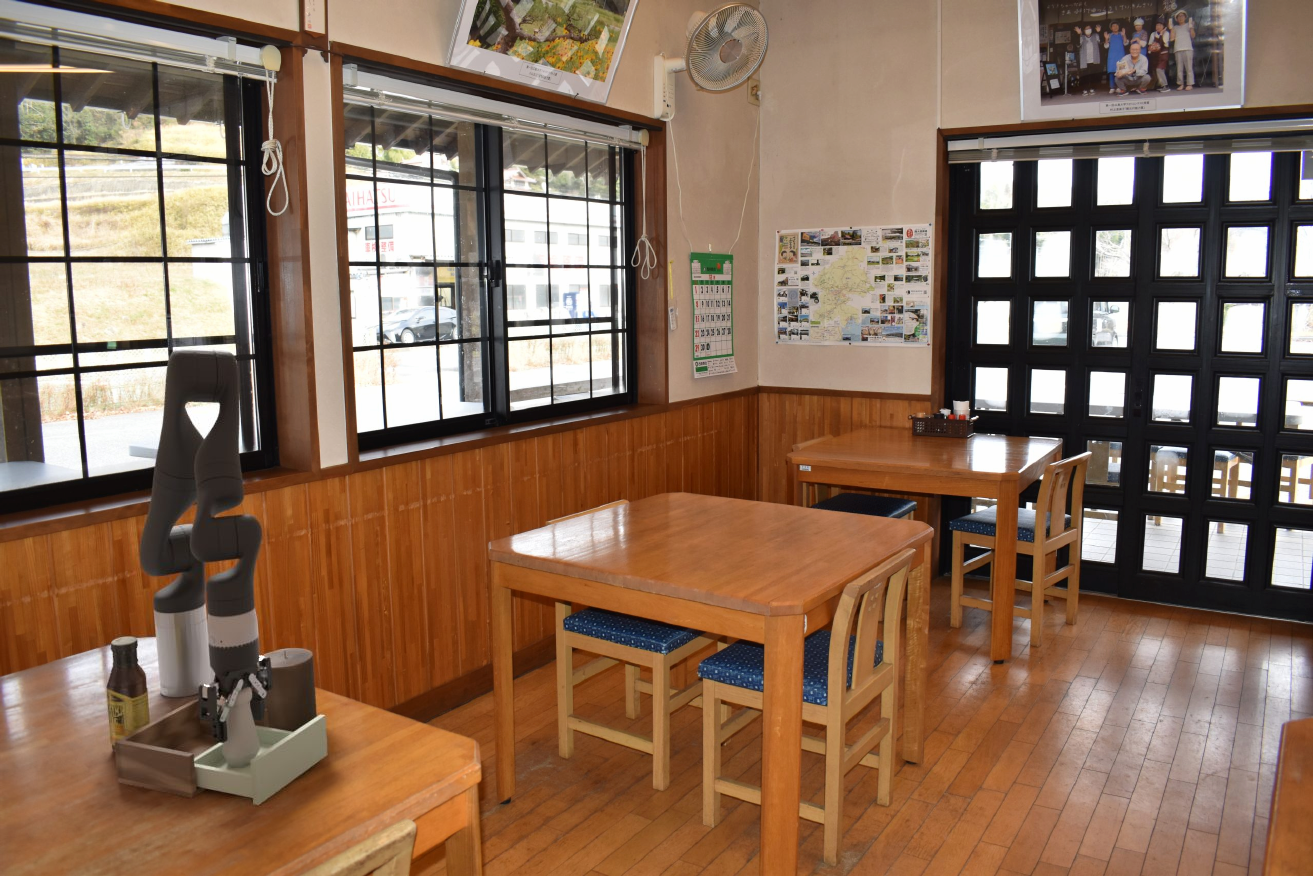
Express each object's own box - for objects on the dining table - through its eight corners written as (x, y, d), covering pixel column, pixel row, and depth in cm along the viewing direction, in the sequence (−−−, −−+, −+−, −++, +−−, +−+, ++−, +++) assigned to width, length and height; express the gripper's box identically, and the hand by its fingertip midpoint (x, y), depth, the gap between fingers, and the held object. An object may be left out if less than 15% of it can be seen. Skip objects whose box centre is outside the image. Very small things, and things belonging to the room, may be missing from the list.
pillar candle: (322, 732, 177) (318, 653, 175) (265, 745, 172) (260, 664, 170) (310, 713, 185) (306, 637, 183) (255, 725, 180) (250, 647, 178)
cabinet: (200, 734, 176) (198, 697, 175) (269, 746, 172) (267, 709, 171) (118, 782, 160) (114, 742, 158) (192, 798, 155) (188, 756, 154)
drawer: (255, 741, 172) (252, 703, 171) (327, 754, 167) (325, 715, 166) (180, 789, 156) (177, 746, 155) (258, 805, 151) (255, 761, 150)
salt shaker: (266, 762, 162) (262, 688, 160) (231, 774, 158) (226, 698, 156) (251, 750, 166) (247, 678, 164) (217, 761, 162) (212, 687, 160)
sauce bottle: (105, 748, 171) (95, 639, 168) (143, 736, 176) (134, 630, 172) (119, 760, 167) (109, 649, 164) (158, 747, 171) (148, 639, 168)
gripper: (220, 655, 151) (227, 753, 154) (282, 624, 164) (287, 715, 167) (181, 649, 153) (188, 746, 156) (245, 619, 167) (251, 709, 169)
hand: (239, 730), depth 161 cm, fingers open, 8 cm apart
